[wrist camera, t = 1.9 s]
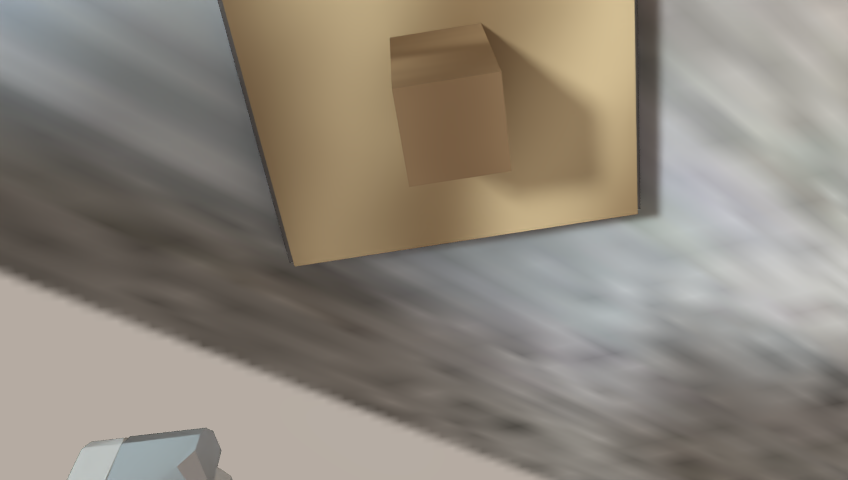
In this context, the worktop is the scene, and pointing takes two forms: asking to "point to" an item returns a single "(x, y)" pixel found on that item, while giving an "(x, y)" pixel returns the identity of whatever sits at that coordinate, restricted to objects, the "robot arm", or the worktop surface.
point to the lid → (439, 117)
